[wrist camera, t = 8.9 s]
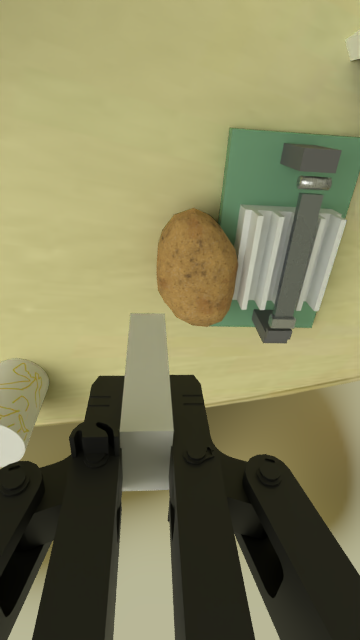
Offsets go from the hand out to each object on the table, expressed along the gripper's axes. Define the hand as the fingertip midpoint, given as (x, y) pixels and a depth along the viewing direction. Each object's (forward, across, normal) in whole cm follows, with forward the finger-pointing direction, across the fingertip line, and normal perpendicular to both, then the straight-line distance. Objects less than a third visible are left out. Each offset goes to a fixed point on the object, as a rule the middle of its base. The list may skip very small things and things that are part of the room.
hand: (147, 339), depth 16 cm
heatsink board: (+28, +16, -4) cm, 33 cm away
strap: (+22, +16, -4) cm, 27 cm away
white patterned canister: (+29, -19, -27) cm, 44 cm away
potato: (+29, +6, -6) cm, 30 cm away
